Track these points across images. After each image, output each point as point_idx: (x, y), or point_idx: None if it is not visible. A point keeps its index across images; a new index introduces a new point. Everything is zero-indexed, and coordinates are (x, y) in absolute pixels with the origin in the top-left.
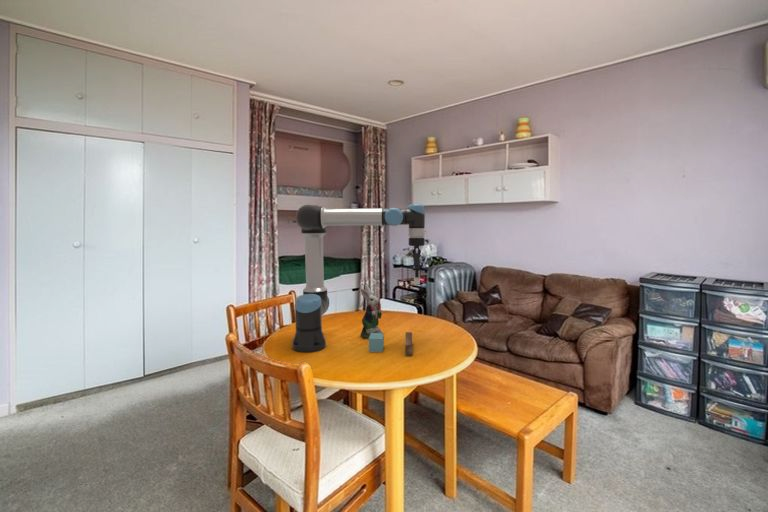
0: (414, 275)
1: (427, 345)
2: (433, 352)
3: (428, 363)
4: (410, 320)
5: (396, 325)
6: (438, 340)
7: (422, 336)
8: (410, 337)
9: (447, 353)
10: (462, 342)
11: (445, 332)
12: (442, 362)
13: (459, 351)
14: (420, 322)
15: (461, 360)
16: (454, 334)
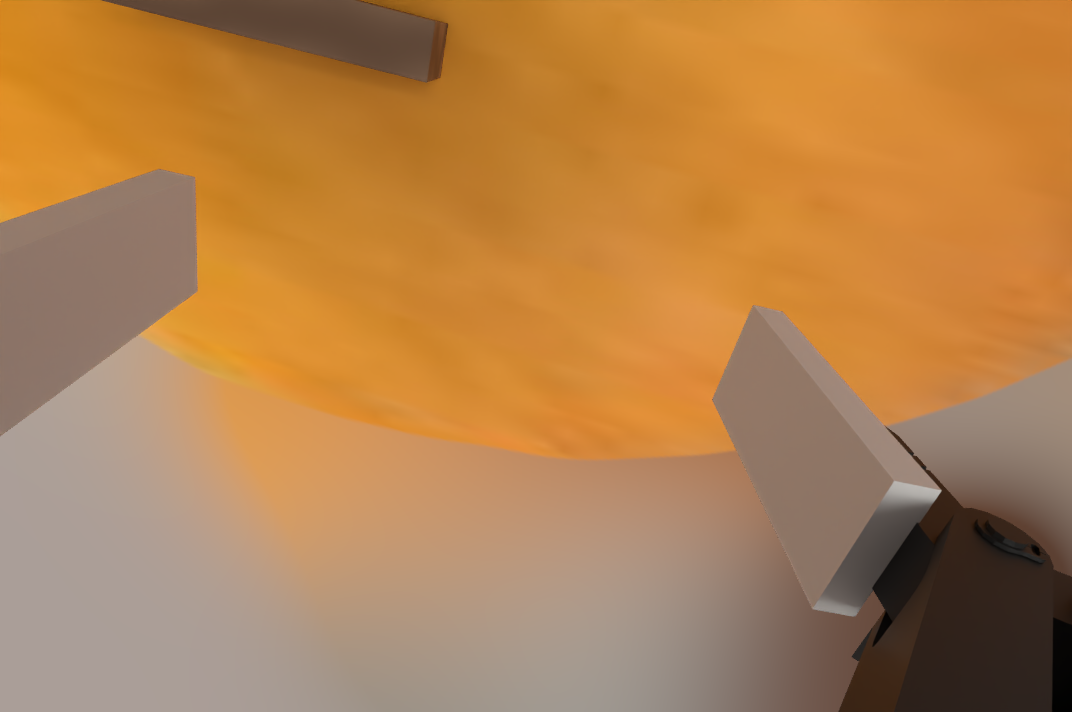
0: (12, 235)
1: (369, 176)
2: (225, 176)
3: (10, 82)
4: (1025, 214)
5: (941, 52)
6: (467, 278)
7: (575, 196)
8: (278, 28)
9: (211, 256)
10: (410, 398)
11: (626, 369)
12: (45, 178)
13: (249, 333)
14: (928, 276)
15: None
16: (571, 405)
